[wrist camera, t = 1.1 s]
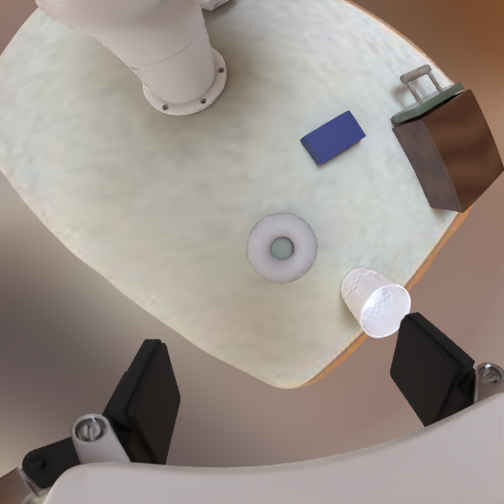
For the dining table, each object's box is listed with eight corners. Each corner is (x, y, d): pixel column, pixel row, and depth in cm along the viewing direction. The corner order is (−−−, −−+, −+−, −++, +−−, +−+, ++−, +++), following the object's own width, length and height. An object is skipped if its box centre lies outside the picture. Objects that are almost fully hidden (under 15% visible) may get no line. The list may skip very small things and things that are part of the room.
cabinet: (391, 128, 36) (422, 119, 27) (440, 98, 34) (470, 89, 26) (430, 206, 39) (463, 212, 31) (473, 168, 38) (504, 169, 29)
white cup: (387, 283, 42) (419, 307, 32) (355, 316, 43) (379, 347, 34) (362, 252, 41) (392, 271, 31) (327, 288, 42) (349, 316, 32)
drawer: (374, 90, 34) (395, 77, 27) (422, 67, 32) (444, 55, 25) (429, 190, 38) (455, 193, 31) (469, 156, 36) (494, 155, 29)
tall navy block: (317, 165, 37) (323, 163, 34) (300, 139, 36) (304, 136, 33) (358, 139, 36) (366, 136, 34) (342, 114, 35) (349, 109, 33)
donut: (326, 233, 40) (269, 198, 38) (333, 238, 37) (272, 199, 35) (290, 289, 42) (233, 258, 40) (294, 298, 38) (233, 264, 37)
